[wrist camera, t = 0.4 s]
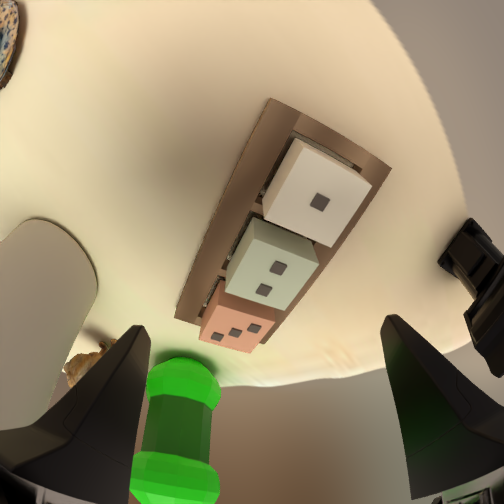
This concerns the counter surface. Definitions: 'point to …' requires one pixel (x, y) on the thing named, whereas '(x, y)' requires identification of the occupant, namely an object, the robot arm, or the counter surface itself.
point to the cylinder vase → (38, 315)
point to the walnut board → (246, 198)
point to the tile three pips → (235, 321)
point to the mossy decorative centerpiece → (7, 37)
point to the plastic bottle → (177, 436)
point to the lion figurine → (83, 363)
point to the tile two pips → (270, 265)
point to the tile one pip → (313, 194)
